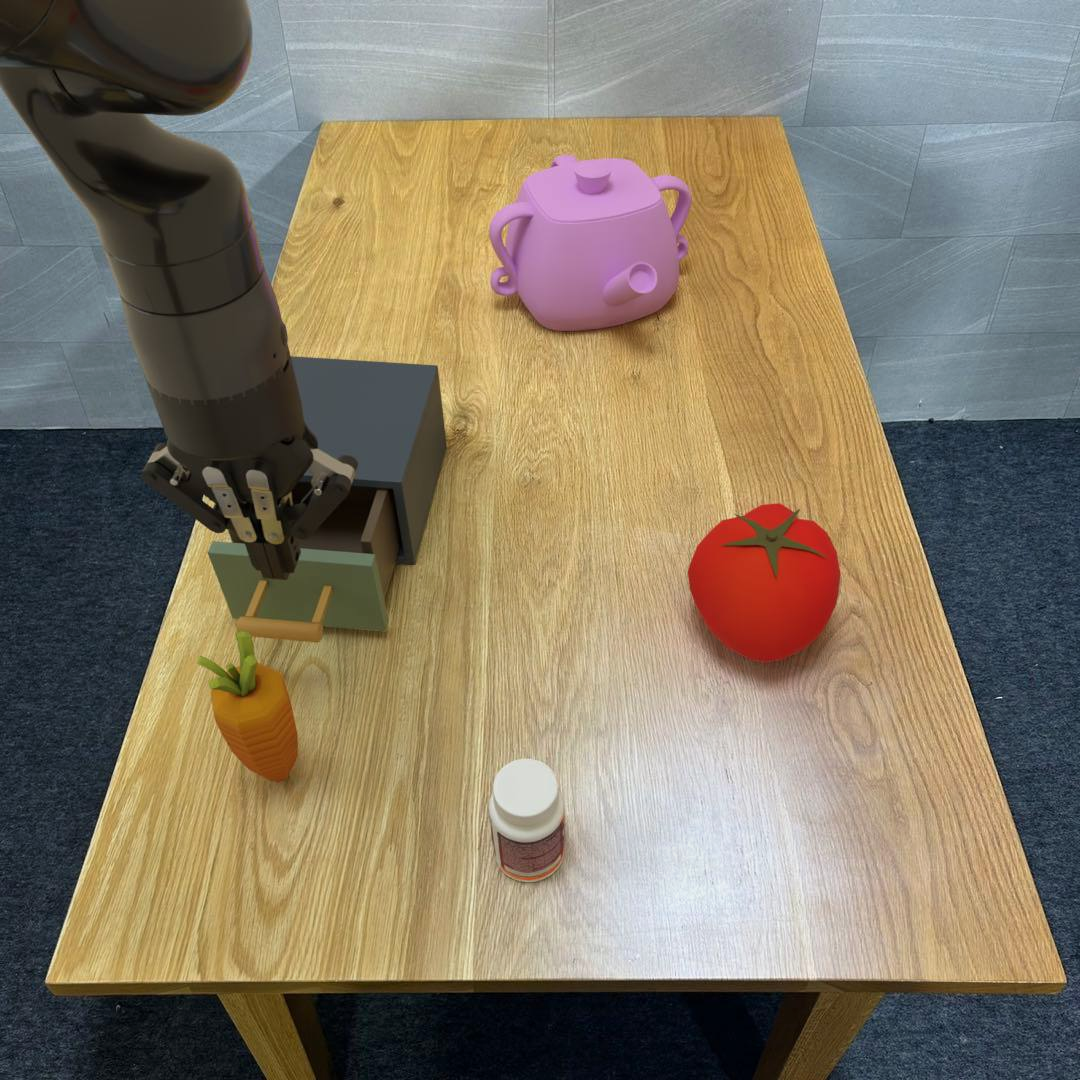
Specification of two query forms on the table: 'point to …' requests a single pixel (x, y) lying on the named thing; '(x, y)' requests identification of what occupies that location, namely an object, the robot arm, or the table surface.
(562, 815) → the pill bottle
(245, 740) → the carrot
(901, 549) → the table surface
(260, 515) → the robot arm
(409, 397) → the cabinet
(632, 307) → the teapot
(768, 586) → the tomato
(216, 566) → the drawer
